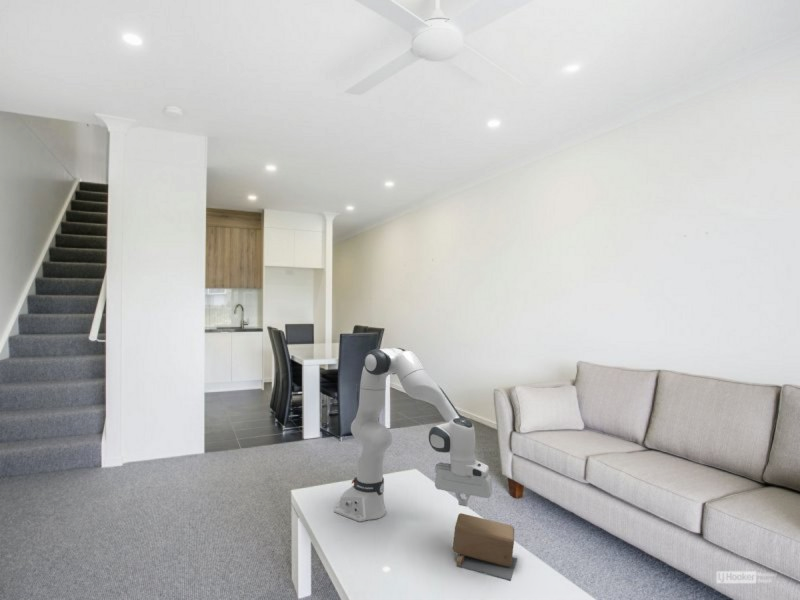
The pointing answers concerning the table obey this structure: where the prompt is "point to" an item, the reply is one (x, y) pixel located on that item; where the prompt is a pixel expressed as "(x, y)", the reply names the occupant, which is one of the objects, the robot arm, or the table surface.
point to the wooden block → (484, 539)
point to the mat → (486, 567)
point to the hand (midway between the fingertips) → (463, 505)
